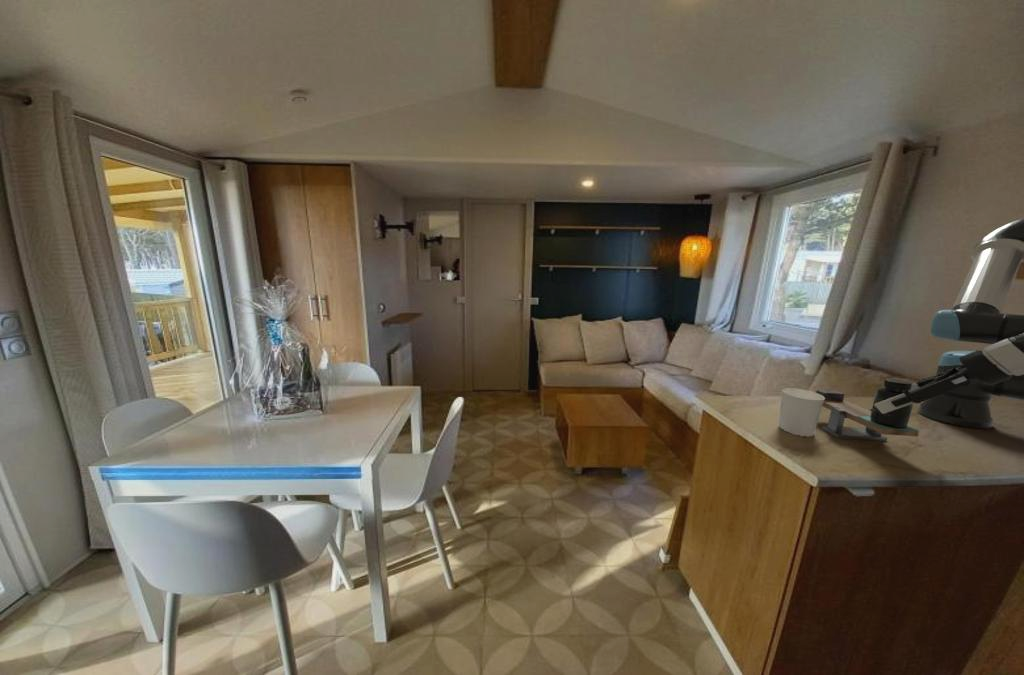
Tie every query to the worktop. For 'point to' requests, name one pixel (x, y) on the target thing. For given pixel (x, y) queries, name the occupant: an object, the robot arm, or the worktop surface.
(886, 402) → the robot arm
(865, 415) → the beam
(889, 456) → the worktop surface
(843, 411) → the stand
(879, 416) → the supplement bottle
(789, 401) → the white cylinder
